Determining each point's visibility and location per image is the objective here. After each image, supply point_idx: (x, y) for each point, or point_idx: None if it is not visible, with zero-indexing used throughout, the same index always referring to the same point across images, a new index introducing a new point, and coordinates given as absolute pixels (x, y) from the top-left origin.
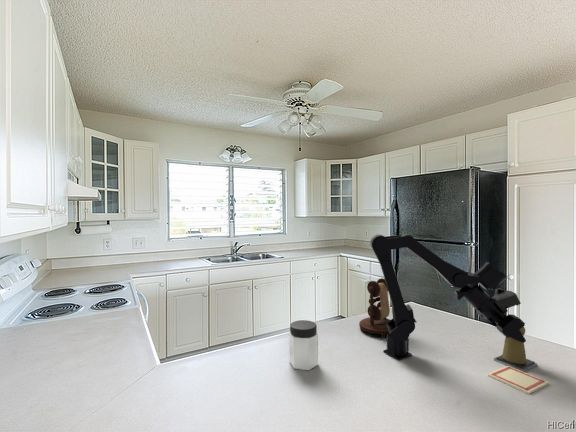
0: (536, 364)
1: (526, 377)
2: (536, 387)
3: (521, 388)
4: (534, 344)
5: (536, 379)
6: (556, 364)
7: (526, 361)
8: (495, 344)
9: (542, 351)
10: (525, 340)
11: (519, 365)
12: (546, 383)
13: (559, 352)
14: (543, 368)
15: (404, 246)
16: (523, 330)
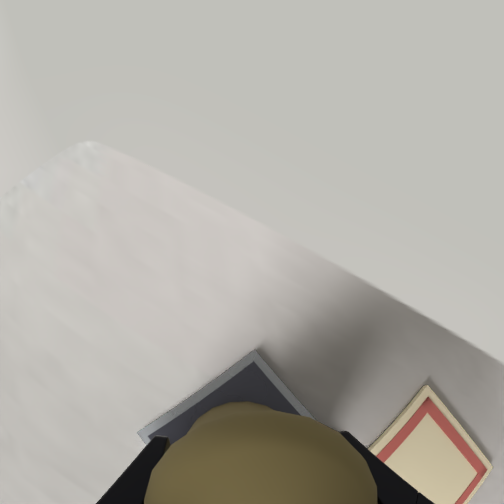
0: (261, 358)
1: (411, 457)
2: (469, 439)
3: (478, 484)
4: (34, 229)
5: (419, 423)
6: (223, 255)
7: (268, 407)
8: (26, 412)
9: (93, 236)
10: (347, 435)
11: None
12: (436, 396)
13: (107, 180)
14: (281, 339)
15: None
16: (360, 454)
